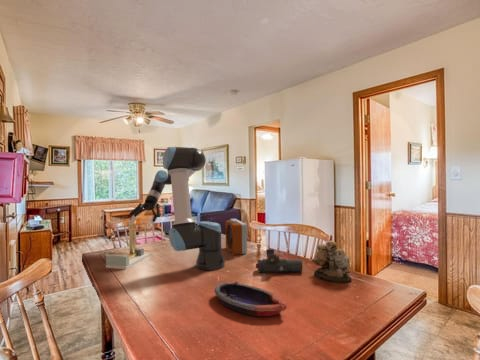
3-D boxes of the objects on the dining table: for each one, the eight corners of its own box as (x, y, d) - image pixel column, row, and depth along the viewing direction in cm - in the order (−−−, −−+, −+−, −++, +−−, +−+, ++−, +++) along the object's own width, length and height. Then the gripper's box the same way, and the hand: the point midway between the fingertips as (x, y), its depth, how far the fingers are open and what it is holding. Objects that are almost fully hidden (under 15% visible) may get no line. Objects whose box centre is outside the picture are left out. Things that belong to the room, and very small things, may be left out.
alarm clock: (225, 247, 180) (225, 216, 179) (238, 246, 182) (237, 216, 182) (233, 255, 162) (232, 221, 162) (247, 254, 165) (246, 220, 164)
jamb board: (131, 255, 165) (130, 244, 165) (149, 256, 162) (148, 245, 162) (106, 267, 143) (105, 255, 143) (126, 269, 141) (126, 256, 141)
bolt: (136, 253, 163) (136, 223, 162) (141, 253, 162) (140, 223, 162) (124, 259, 151) (123, 227, 151) (129, 260, 150) (128, 227, 150)
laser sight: (303, 275, 130) (303, 254, 130) (256, 275, 130) (256, 255, 130) (299, 268, 140) (299, 249, 139) (255, 268, 140) (255, 249, 140)
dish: (231, 288, 116) (231, 276, 116) (295, 311, 96) (295, 297, 96) (204, 301, 104) (203, 288, 104) (270, 330, 84) (270, 314, 84)
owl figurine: (307, 277, 127) (307, 240, 127) (317, 270, 137) (316, 236, 137) (347, 285, 117) (347, 246, 117) (354, 277, 126) (354, 241, 126)
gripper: (171, 202, 179) (161, 229, 164) (137, 201, 184) (124, 228, 170) (168, 194, 173) (156, 222, 159) (133, 194, 179) (118, 221, 164)
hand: (139, 225), depth 164 cm, fingers open, 13 cm apart
